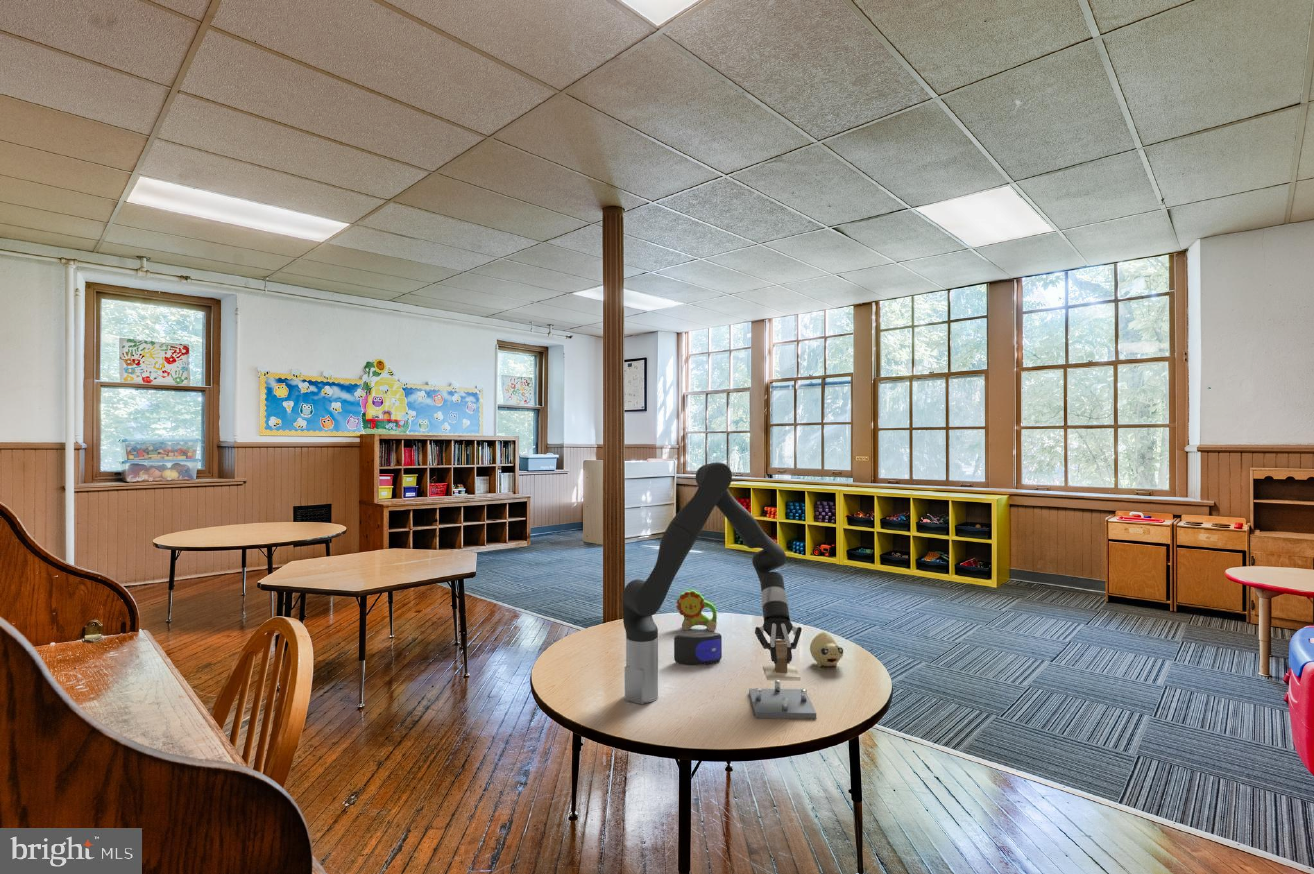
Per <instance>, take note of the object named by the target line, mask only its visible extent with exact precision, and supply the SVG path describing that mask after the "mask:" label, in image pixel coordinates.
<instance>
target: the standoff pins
mask: <svg viewBox="0 0 1314 874" xmlns="http://www.w3.org/2000/svg"><path fill="white" fill-rule="evenodd" d="M754 689H755V700H756V701H761V689H762V688H761V687H756V688H754ZM774 689H775V692H780V689H781V681H776V680H774ZM800 689H801V701H803V702H806V701H807V695H808V693H807V692H808V691H807V689H806V688H800ZM782 711H788V698H782Z"/></svg>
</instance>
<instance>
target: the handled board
mask: <svg viewBox="0 0 1314 874" xmlns="http://www.w3.org/2000/svg"><path fill="white" fill-rule="evenodd" d="M775 648H776V654H777V664H762V670H763V672H764V673H763V674H764V676H765V679H766V681H775V680H776V681H780V682H781V681H785V682H786V681H793V682H794V681H796V682H797V681H801V675H800V674H799V671H798V670H797V666H795V664H787V643H786V641H785V640H780V639H777V640H775Z"/></svg>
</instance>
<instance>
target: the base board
mask: <svg viewBox="0 0 1314 874" xmlns="http://www.w3.org/2000/svg"><path fill="white" fill-rule="evenodd" d="M755 689H756V688H749V689H748V695H749V699H750V702H751V706H752V710H753V713H754V716H755V719H794V718H816V719H817V711H816V710H815V707H814V706H813V704H812V702H811V699H810V697H809V695H808V694H807V701H806V702H803V701H801V689H802V688H780V692H775V688H760V689H761V701H756V700H755ZM782 698H788V711H782Z"/></svg>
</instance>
